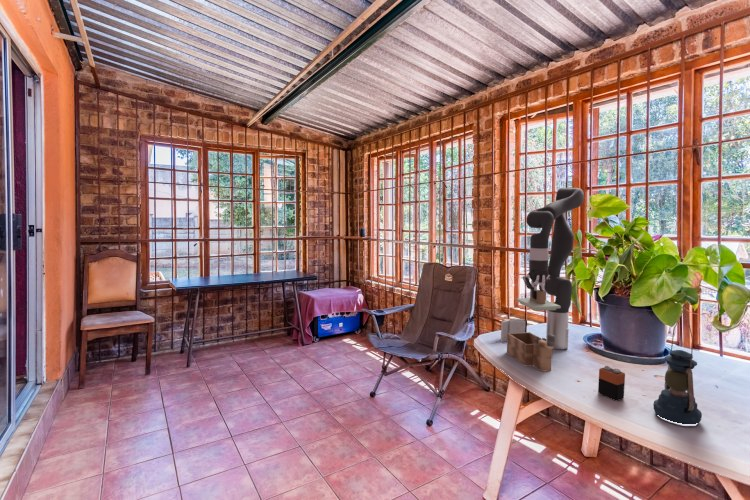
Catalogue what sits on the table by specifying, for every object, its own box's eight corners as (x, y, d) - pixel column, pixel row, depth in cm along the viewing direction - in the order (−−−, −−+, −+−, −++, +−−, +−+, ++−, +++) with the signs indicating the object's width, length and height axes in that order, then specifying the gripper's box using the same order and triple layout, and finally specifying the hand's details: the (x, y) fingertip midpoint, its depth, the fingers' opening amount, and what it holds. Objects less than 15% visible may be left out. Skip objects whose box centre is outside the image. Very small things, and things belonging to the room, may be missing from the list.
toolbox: (506, 352, 179) (507, 327, 178) (529, 351, 181) (530, 326, 180) (533, 371, 158) (534, 343, 157) (558, 370, 160) (559, 341, 158)
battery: (616, 401, 133) (618, 372, 132) (597, 393, 139) (598, 365, 138) (624, 398, 135) (626, 370, 134) (605, 390, 141) (606, 363, 140)
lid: (515, 302, 175) (516, 287, 175) (538, 301, 177) (539, 286, 176) (535, 311, 160) (536, 294, 159) (560, 310, 161) (561, 293, 161)
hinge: (501, 341, 195) (502, 322, 194) (496, 338, 200) (497, 319, 199) (527, 340, 197) (528, 320, 196) (522, 337, 202) (522, 318, 201)
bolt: (537, 342, 162) (537, 330, 162) (543, 342, 162) (544, 330, 162) (549, 349, 154) (549, 336, 153) (556, 349, 154) (556, 336, 154)
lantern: (644, 405, 130) (650, 301, 127) (685, 409, 127) (692, 302, 124) (666, 428, 116) (674, 311, 113) (713, 432, 114) (722, 314, 110)
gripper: (548, 257, 171) (547, 296, 173) (519, 258, 169) (517, 297, 171) (559, 259, 164) (557, 300, 165) (528, 260, 162) (526, 301, 163)
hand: (537, 298), depth 168 cm, fingers closed on lid
